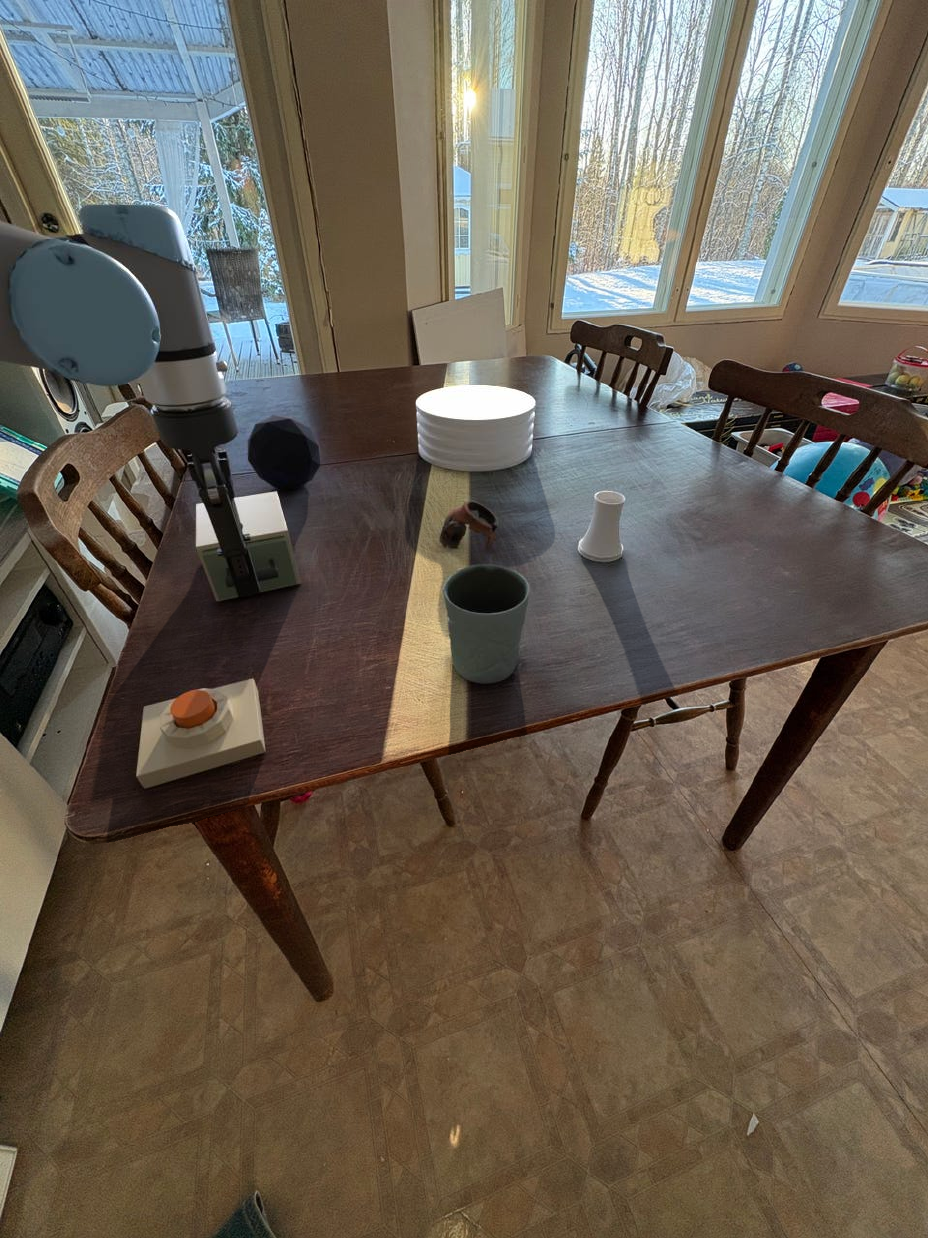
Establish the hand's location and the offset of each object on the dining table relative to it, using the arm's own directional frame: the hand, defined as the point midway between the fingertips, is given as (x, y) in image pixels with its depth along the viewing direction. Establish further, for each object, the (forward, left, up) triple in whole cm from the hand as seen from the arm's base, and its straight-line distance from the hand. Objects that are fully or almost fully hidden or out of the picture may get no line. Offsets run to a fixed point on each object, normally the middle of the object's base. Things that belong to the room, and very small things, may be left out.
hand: (249, 591), depth 66 cm
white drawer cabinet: (0, +19, -8) cm, 20 cm away
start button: (-8, -15, -4) cm, 18 cm away
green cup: (+26, -16, -8) cm, 32 cm away
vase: (+56, +2, -8) cm, 57 cm away
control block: (-8, -15, -8) cm, 19 cm away
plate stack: (+55, +55, -8) cm, 78 cm away
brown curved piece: (+35, +13, -8) cm, 38 cm away
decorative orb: (+10, +51, -8) cm, 53 cm away
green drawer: (0, +15, -7) cm, 17 cm away
